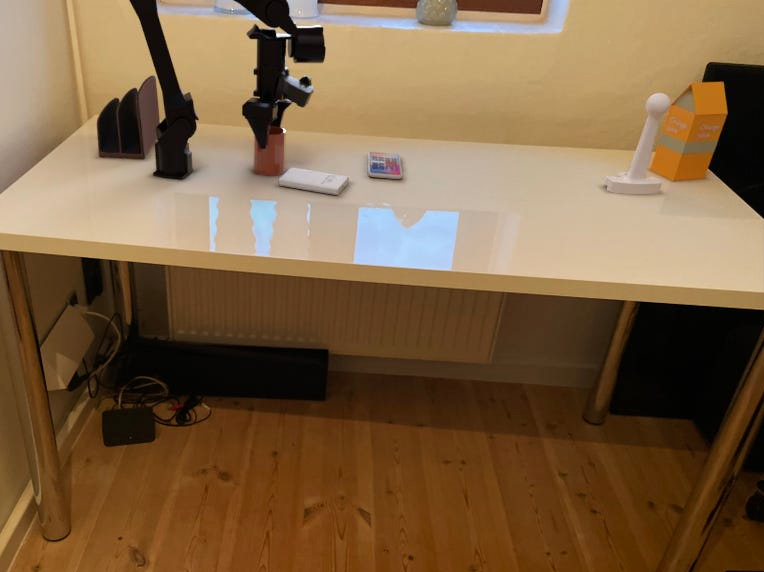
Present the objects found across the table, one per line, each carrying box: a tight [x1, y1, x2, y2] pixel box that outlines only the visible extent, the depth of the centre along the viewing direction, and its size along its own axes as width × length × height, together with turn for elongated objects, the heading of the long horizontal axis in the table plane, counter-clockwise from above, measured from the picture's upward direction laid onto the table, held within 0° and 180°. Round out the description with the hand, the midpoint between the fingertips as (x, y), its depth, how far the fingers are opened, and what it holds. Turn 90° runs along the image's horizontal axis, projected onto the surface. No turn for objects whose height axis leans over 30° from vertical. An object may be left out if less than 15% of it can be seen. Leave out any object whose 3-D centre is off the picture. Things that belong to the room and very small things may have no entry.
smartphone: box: [367, 151, 403, 180], centre depth 161 cm, size 7×1×15 cm
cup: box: [253, 126, 287, 177], centre depth 154 cm, size 6×6×8 cm
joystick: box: [603, 92, 671, 195], centre depth 152 cm, size 11×8×20 cm
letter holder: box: [96, 75, 161, 160], centre depth 163 cm, size 10×20×14 cm, turn 179°
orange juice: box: [649, 81, 729, 182], centre depth 161 cm, size 8×9×20 cm
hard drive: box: [278, 167, 350, 196], centre depth 150 cm, size 2×8×12 cm
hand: (269, 142), depth 153 cm, fingers open, 9 cm apart
